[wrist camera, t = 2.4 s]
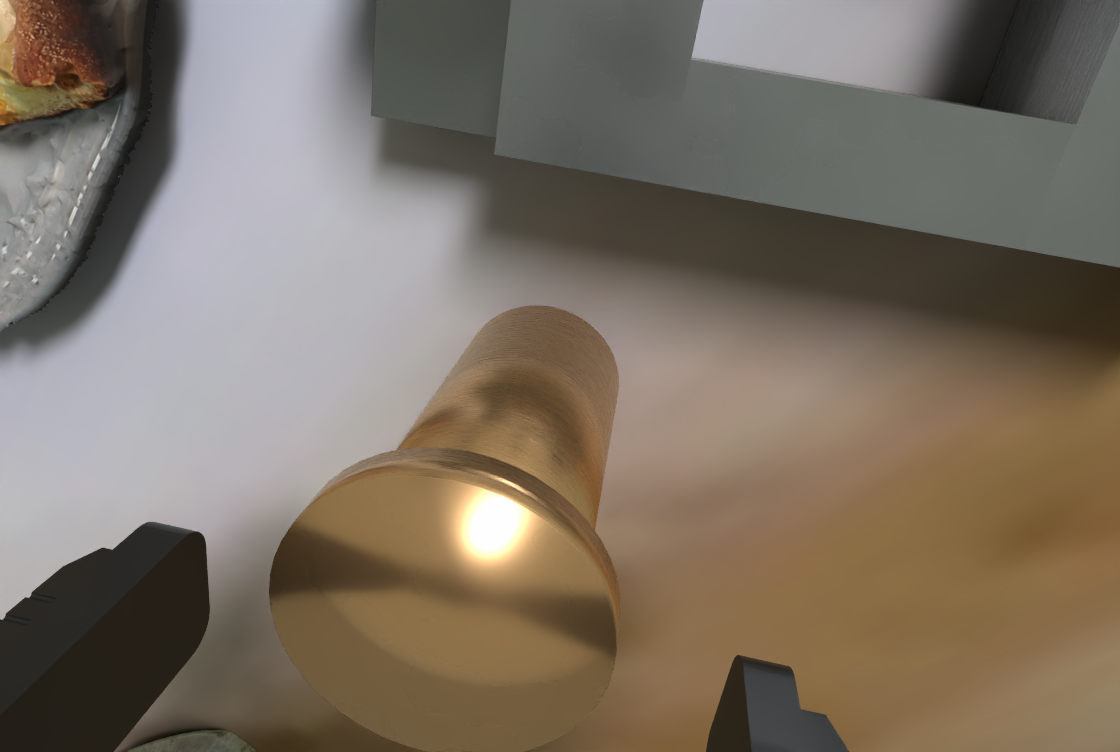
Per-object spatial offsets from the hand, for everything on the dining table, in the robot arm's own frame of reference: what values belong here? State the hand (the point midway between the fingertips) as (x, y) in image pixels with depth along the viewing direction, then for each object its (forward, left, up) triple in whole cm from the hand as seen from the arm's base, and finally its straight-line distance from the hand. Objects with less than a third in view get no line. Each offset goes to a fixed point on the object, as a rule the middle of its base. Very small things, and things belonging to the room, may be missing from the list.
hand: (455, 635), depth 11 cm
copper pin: (0, 0, -9) cm, 9 cm away
